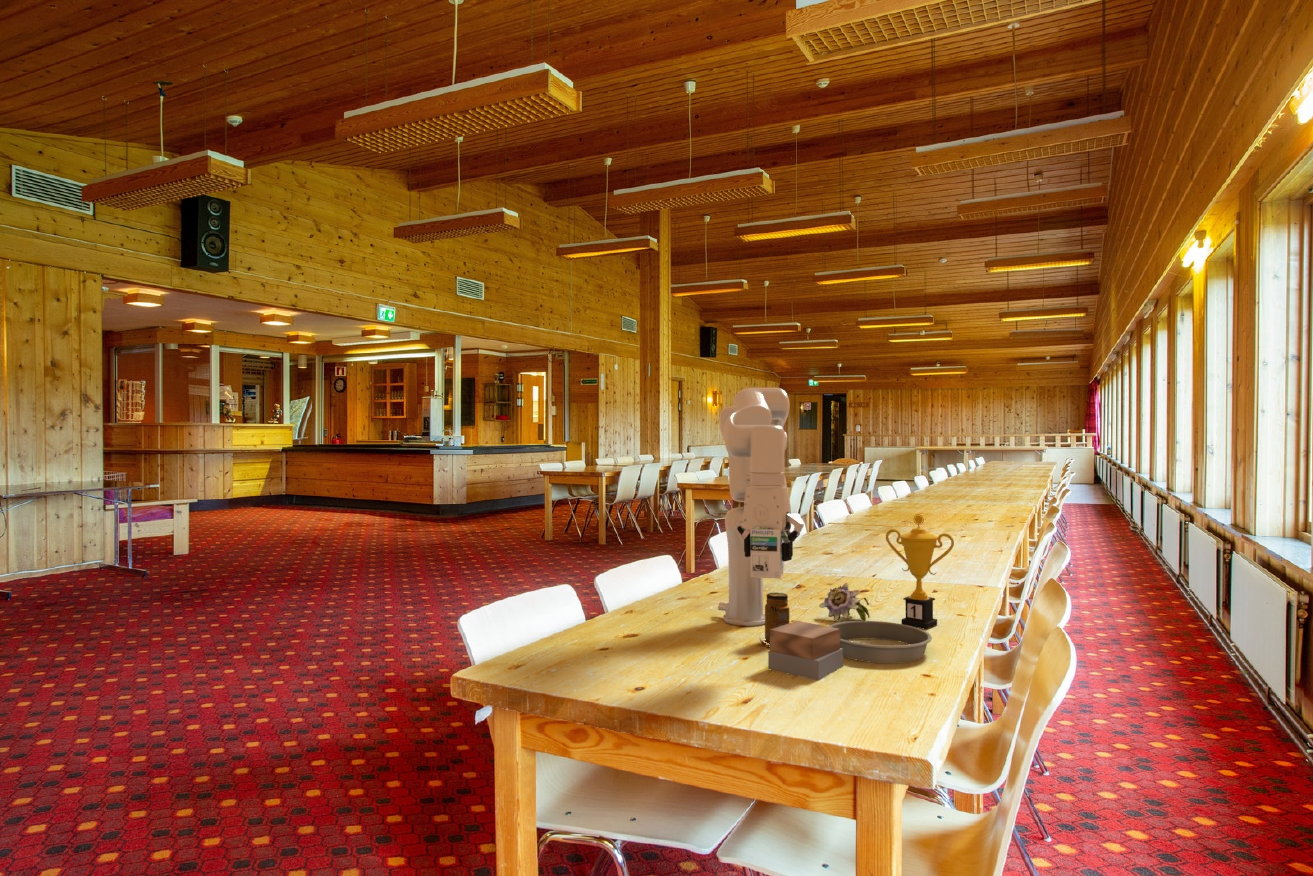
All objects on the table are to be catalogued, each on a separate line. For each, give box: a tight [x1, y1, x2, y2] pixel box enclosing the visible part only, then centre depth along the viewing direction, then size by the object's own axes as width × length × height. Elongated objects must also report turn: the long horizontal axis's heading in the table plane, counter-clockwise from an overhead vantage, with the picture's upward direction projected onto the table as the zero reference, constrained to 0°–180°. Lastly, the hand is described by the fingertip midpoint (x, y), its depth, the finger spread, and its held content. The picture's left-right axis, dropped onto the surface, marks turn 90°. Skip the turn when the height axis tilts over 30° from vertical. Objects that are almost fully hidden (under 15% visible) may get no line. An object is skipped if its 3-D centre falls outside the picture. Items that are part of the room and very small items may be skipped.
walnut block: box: [769, 620, 840, 660], centre depth 165 cm, size 11×11×4 cm
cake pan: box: [828, 620, 933, 664], centre depth 178 cm, size 25×25×4 cm
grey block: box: [767, 648, 844, 681], centre depth 164 cm, size 12×12×4 cm
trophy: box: [885, 514, 955, 630], centre depth 202 cm, size 19×10×30 cm, turn 45°
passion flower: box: [818, 582, 871, 622], centre depth 210 cm, size 11×11×12 cm
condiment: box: [759, 592, 791, 648], centre depth 185 cm, size 7×8×12 cm
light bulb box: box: [750, 527, 785, 580], centre depth 165 cm, size 11×7×11 cm, turn 166°
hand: (767, 558), depth 165 cm, fingers closed on light bulb box, 9 cm apart
